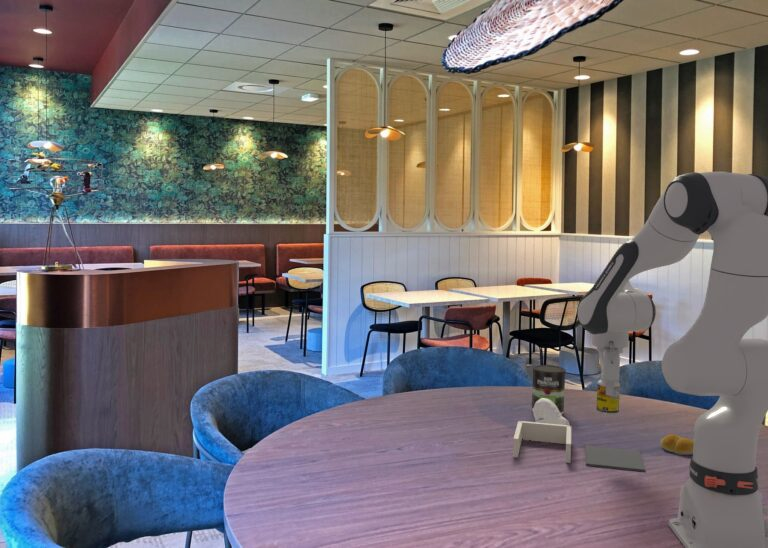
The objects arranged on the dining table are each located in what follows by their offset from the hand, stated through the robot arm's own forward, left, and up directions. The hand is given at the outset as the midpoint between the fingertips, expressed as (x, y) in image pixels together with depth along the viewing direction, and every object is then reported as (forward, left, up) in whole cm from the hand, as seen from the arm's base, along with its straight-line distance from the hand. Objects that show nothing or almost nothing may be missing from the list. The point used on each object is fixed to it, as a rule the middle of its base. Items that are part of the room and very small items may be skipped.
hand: (608, 391), depth 172 cm
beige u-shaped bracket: (+2, +16, -18) cm, 24 cm away
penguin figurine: (+20, +14, -18) cm, 30 cm away
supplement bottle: (0, 0, -6) cm, 6 cm away
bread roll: (+13, -19, -18) cm, 30 cm away
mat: (0, -2, -18) cm, 18 cm away
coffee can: (+39, +16, -18) cm, 46 cm away
